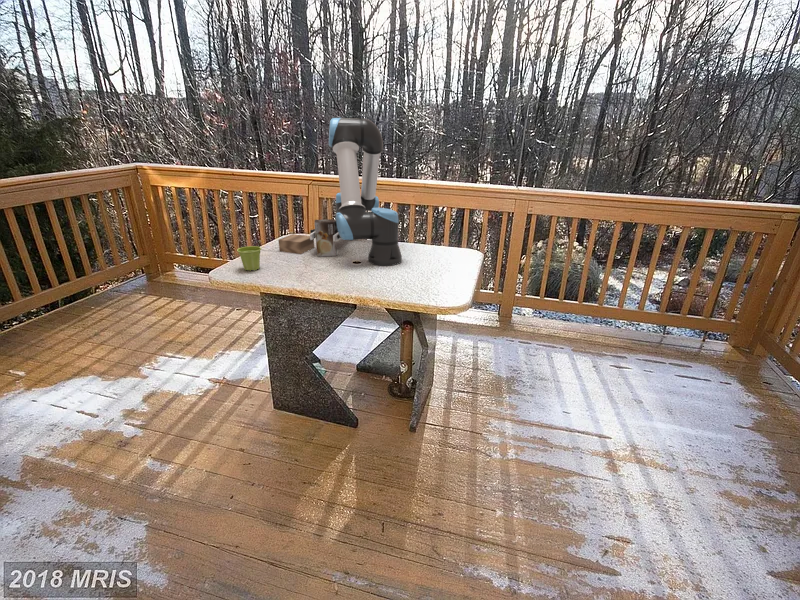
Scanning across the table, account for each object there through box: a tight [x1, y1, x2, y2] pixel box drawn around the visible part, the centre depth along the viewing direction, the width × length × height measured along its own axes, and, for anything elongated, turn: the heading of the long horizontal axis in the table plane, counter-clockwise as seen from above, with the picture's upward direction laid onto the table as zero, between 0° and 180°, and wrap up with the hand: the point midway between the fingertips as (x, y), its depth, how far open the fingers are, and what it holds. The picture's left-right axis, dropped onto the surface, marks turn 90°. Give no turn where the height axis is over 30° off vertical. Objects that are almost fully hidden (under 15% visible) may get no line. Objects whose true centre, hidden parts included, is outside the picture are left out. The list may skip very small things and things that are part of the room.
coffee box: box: [313, 218, 337, 257], centre depth 183 cm, size 9×6×16 cm
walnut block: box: [278, 233, 315, 255], centre depth 192 cm, size 12×12×6 cm
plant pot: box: [236, 245, 262, 272], centre depth 164 cm, size 9×9×9 cm
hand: (322, 237), depth 179 cm, fingers closed on coffee box, 10 cm apart
